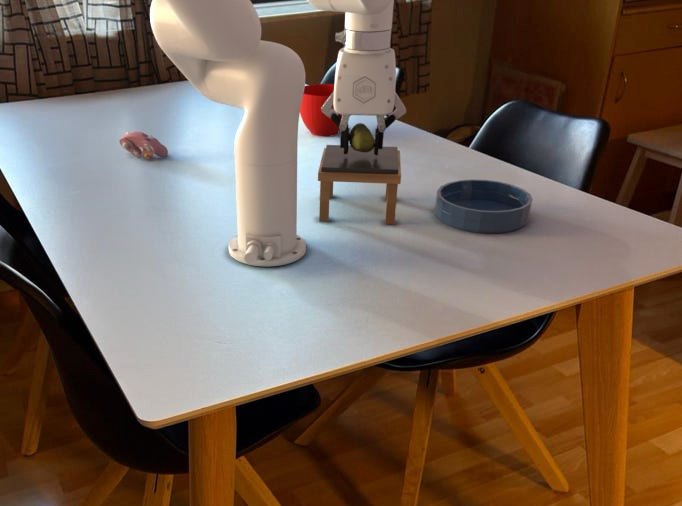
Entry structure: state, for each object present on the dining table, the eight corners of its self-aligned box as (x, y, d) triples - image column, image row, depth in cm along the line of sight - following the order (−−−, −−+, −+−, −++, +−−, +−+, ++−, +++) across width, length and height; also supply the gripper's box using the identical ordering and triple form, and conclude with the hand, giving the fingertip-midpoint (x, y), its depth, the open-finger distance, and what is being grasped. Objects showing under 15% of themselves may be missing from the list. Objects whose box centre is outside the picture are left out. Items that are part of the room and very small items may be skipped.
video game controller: (125, 161, 162) (112, 137, 156) (135, 147, 164) (123, 123, 158) (161, 168, 158) (150, 143, 152) (171, 153, 160) (160, 128, 154)
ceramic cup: (375, 135, 172) (378, 91, 167) (311, 143, 167) (312, 98, 162) (350, 121, 182) (352, 80, 177) (289, 129, 177) (289, 86, 172)
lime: (351, 147, 129) (353, 118, 126) (377, 150, 128) (379, 121, 125) (344, 154, 126) (345, 125, 123) (371, 157, 124) (373, 128, 121)
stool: (396, 225, 126) (401, 170, 120) (316, 222, 127) (318, 167, 122) (395, 197, 137) (400, 146, 132) (322, 194, 139) (324, 143, 134)
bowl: (535, 236, 121) (539, 214, 119) (437, 232, 123) (440, 210, 121) (520, 201, 135) (524, 181, 133) (432, 198, 137) (434, 177, 134)
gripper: (313, 44, 115) (311, 157, 125) (421, 45, 113) (410, 160, 123) (317, 36, 121) (314, 144, 131) (419, 37, 119) (409, 147, 129)
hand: (361, 151), depth 127 cm, fingers closed on lime, 4 cm apart
